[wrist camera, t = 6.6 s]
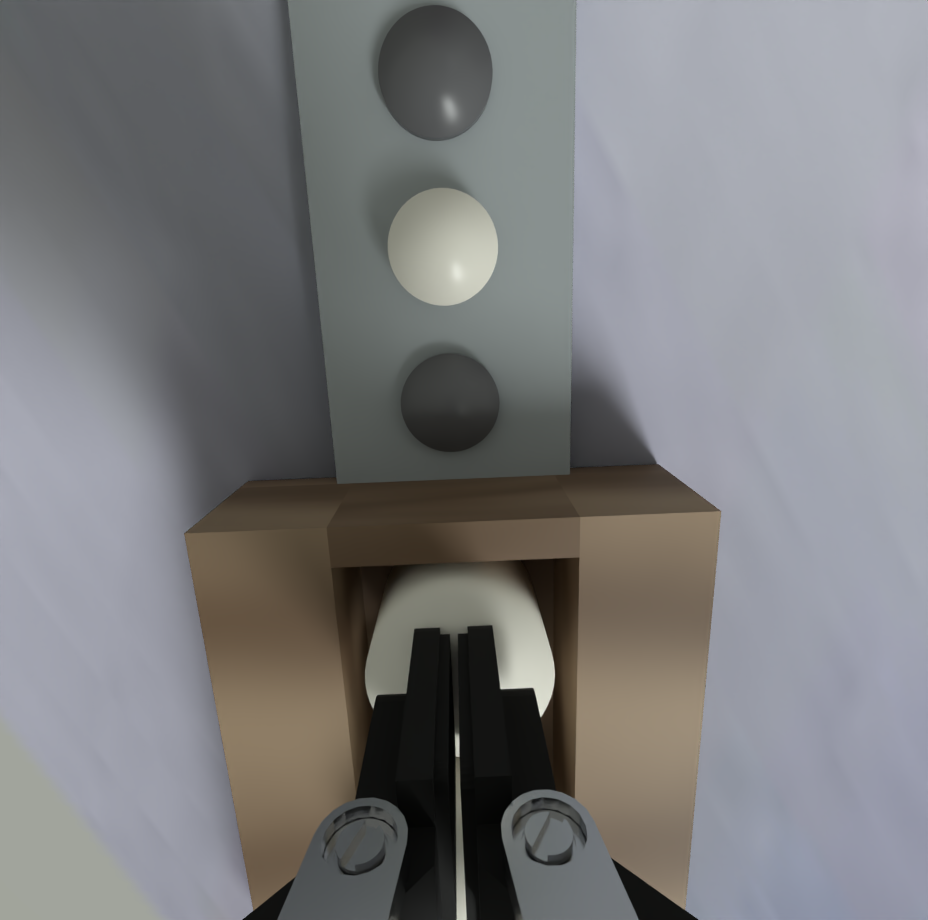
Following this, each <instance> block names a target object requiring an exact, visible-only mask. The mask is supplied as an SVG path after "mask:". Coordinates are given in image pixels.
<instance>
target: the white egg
mask: <svg viewBox="0 0 928 920" xmlns="http://www.w3.org/2000/svg"><path fill="white" fill-rule="evenodd" d="M485 625H492V626H493V634H494V641H495V649H496V657H497V665H498V673H499V681H500V689H517V688H533V689H534V691H535V695H536V699H537V704H538V708H539V713H540V717H541V716H542V715H543V713H544V711H545V709H546V708H547V706H548V704H549V701H550V699H551V696H552V692H553V688H554V680H555V668H554V661H553V656H552V652H551V648H550V645H549V642H548V638H547V635H546V631H545V628H544V624H543V621H542V617H541V614H540V610H539V607H538V603H537V600H536V596H535V593H534V589H533V586H532V582H531V579H530V576H529V574H528V572H527V570H526V568H525V566H524V564H523V563H522V562H521V560H506V561H482V562H458V563H434V564H411V565H394V566H393V568H392V570H391V572H390V574H389V576H388V578H387V582H386V585H385V589H384V593H383V597H382V601H381V605H380V609H379V613H378V617H377V621H376V625H375V629H374V633H373V637H372V641H371V645H370V649H369V653H368V657H367V661H366V668H365V684H366V690H367V695H368V698H369V701H370V704H371V706H372V708H374V703H375V700H376V696H377V695H384V694H406V692H407V684H408V675H409V667H410V659H411V651H412V643H413V635H414V629H416V628H439V627H440V634H450V645H451V665H452V685H453V705H454V725H455V748H456V757H460V752H459V685H458V634H461V633H468V628H467V626H485Z"/></svg>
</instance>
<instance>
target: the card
mask: <svg viewBox="0 0 928 920" xmlns="http://www.w3.org/2000/svg"><path fill="white" fill-rule="evenodd" d="M287 1H288V11H289V20H290V30H291V40H292V50H293V59H294V69H295V79H296V89H297V98H298V108H299V118H300V128H301V137H302V147H303V157H304V166H305V176H306V186H307V196H308V205H309V215H310V225H311V235H312V244H313V254H314V264H315V274H316V283H317V293H318V303H319V312H320V322H321V332H322V342H323V351H324V361H325V371H326V381H327V390H328V400H329V410H330V420H331V429H332V439H333V449H334V458H335V468H336V478H337V484H349V483H373V482H397V481H422V480H446V479H471V478H495V477H520V476H544V475H568V474H570V435H571V361H572V287H573V214H574V140H575V66H576V0H287Z"/></svg>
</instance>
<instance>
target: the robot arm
mask: <svg viewBox="0 0 928 920" xmlns="http://www.w3.org/2000/svg"><path fill="white" fill-rule="evenodd" d="M467 628H468V633H461V634H458V685H459V752H460V790H461V811H462V832H463V853H464V873H465V894H466V915H467V920H698V919H697V918H695V917H694V916H692V915H691V914H690V913H688V912H687V911H685V910H684V909H683V908H681V907H680V906H678V905H677V904H675V903H674V902H673V901H671V900H670V899H668V898H667V897H666V896H664V895H663V894H661V893H660V892H659V891H657V890H656V889H654V888H653V887H652V886H650V885H649V884H647V883H646V882H645V881H643V880H642V879H640V878H639V877H638V876H636V875H635V874H633V873H632V872H631V871H629V870H628V869H626V868H625V867H623V866H622V865H621V864H619V863H618V862H616V861H615V860H614V859H612V858H611V857H610V855H609V853H608V850H607V848H606V846H605V844H604V841H603V839H602V837H601V835H600V833H599V830H598V828H597V826H596V824H595V821H594V820H593V818H592V817H591V815H590V813H589V812H588V810H587V809H586V808H585V807H584V806H583V805H582V804H581V803H579V802H578V801H577V800H576V799H574V798H572V797H570V796H568V795H566V794H564V793H562V792H558V791H556V786H555V782H554V777H553V773H552V768H551V763H550V759H549V754H548V750H547V745H546V740H545V736H544V731H543V727H542V722H541V717H540V713H539V708H538V704H537V699H536V695H535V691H534V689H533V688H517V689H500V681H499V673H498V665H497V657H496V649H495V641H494V634H493V626H492V625H485V626H467ZM243 920H457V888H456V748H455V725H454V705H453V685H452V665H451V645H450V634H440V627H439V628H416V629H414V635H413V643H412V651H411V659H410V667H409V675H408V684H407V692H406V694H384V695H377V696H376V700H375V703H374V708H373V713H372V718H371V723H370V728H369V733H368V738H367V743H366V748H365V753H364V758H363V763H362V768H361V773H360V778H359V783H358V787H357V792H356V797H355V800H353V801H350V802H347V803H345V804H343V805H341V806H339V807H338V808H336V809H334V810H333V811H332V812H331V813H330V814H329V815H328V816H327V817H326V818H325V819H324V820H323V821H322V822H321V823H320V825H319V827H318V828H317V830H316V832H315V833H314V835H313V838H312V840H311V842H310V845H309V847H308V849H307V852H306V854H305V856H304V859H303V861H302V863H301V866H300V868H299V870H298V873H297V875H296V877H295V878H293V879H292V880H291V881H290V882H288V883H287V884H286V885H285V886H283V887H282V888H281V889H280V890H279V891H277V892H276V893H275V894H274V895H272V896H271V897H270V898H269V899H267V900H266V901H265V902H264V903H262V904H261V905H260V906H259V907H258V908H256V909H255V910H254V911H253V912H251V913H250V914H249V915H248V916H246V917H245V918H244V919H243Z"/></svg>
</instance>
